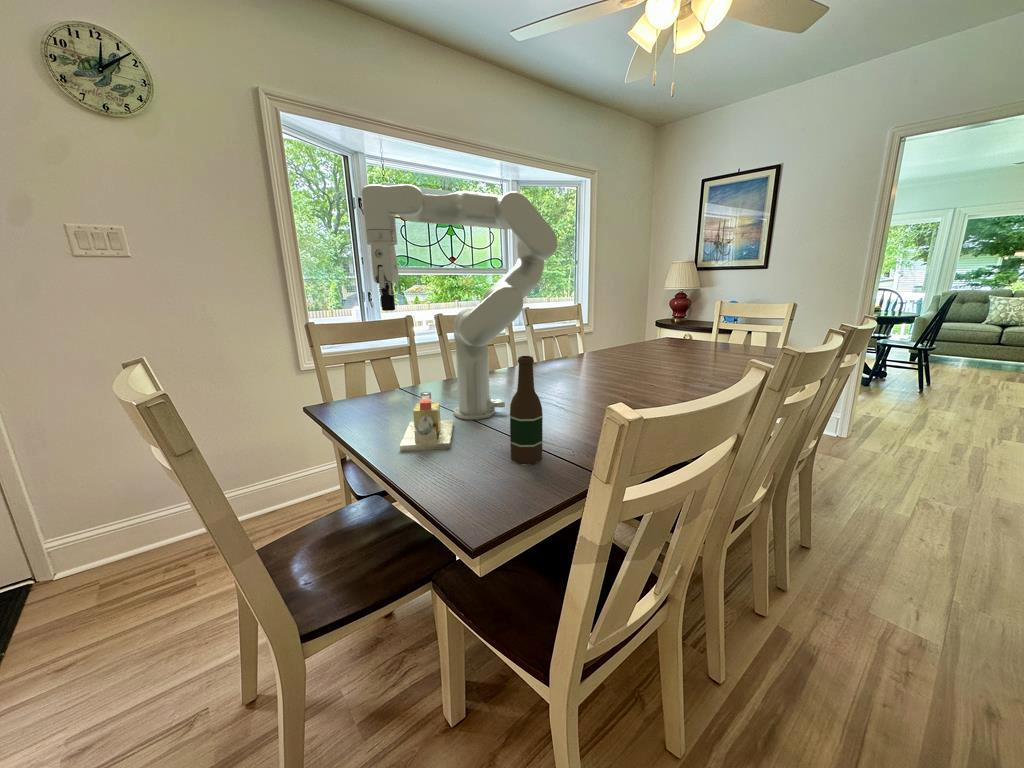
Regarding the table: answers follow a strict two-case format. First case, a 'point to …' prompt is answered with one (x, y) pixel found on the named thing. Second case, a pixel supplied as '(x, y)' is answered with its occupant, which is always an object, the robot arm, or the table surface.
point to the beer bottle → (526, 417)
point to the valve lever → (425, 401)
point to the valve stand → (427, 430)
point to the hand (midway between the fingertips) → (388, 310)
